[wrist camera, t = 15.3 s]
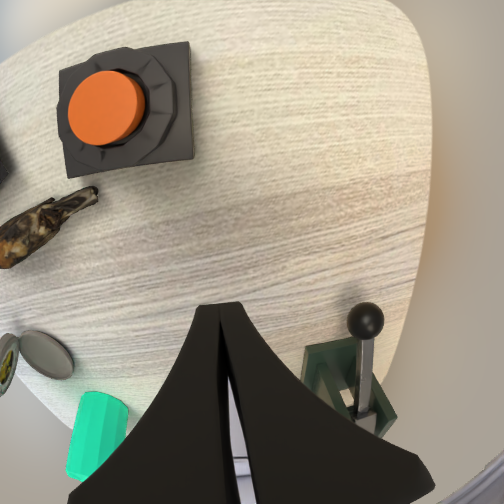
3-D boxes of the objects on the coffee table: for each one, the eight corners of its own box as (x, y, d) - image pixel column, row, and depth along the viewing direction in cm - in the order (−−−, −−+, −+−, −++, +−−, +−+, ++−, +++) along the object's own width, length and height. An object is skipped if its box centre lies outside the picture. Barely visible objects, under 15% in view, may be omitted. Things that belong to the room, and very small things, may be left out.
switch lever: (340, 301, 21) (357, 309, 18) (371, 296, 22) (391, 302, 19) (337, 429, 22) (349, 446, 19) (364, 420, 22) (379, 436, 19)
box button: (147, 135, 13) (139, 138, 11) (85, 147, 12) (71, 152, 11) (144, 69, 11) (136, 63, 9) (80, 84, 10) (66, 81, 9)
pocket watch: (85, 375, 23) (64, 458, 14) (28, 369, 22) (2, 438, 13) (52, 314, 19) (8, 405, 10) (-6, 312, 18) (-49, 384, 9)
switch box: (194, 156, 16) (192, 163, 13) (75, 174, 15) (54, 186, 12) (190, 46, 13) (187, 32, 10) (67, 72, 12) (44, 67, 9)
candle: (101, 386, 24) (83, 486, 13) (139, 413, 27) (133, 504, 16) (72, 396, 24) (53, 482, 14) (107, 421, 27) (98, 502, 17)
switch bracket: (305, 346, 25) (339, 430, 17) (370, 332, 26) (415, 402, 17) (297, 393, 28) (321, 463, 20) (353, 380, 29) (384, 442, 21)
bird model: (-19, 238, 15) (-37, 252, 12) (96, 173, 15) (79, 182, 13) (-4, 270, 16) (-19, 286, 14) (113, 218, 17) (100, 234, 14)
